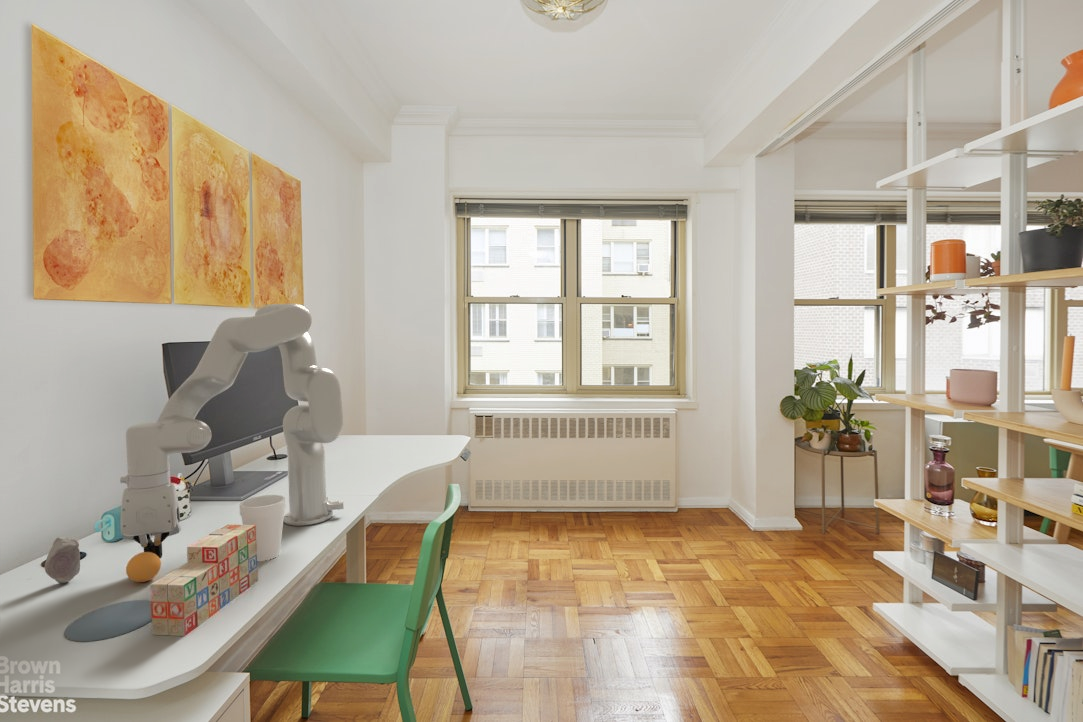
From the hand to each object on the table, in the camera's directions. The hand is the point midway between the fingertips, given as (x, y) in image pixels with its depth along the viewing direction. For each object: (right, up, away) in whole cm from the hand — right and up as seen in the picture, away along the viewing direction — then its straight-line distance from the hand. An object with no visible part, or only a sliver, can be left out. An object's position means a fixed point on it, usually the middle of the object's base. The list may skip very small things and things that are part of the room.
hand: (153, 561), depth 123 cm
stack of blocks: (+22, -3, -16) cm, 27 cm away
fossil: (-14, -3, -6) cm, 16 cm away
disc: (+8, -3, -21) cm, 22 cm away
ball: (+2, +1, -5) cm, 6 cm away
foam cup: (+21, -1, +7) cm, 22 cm away
